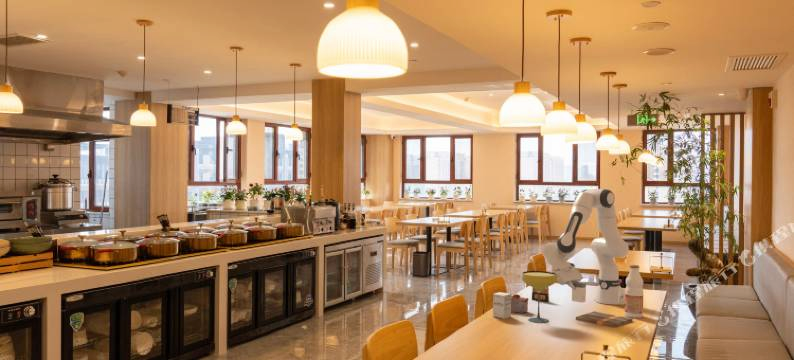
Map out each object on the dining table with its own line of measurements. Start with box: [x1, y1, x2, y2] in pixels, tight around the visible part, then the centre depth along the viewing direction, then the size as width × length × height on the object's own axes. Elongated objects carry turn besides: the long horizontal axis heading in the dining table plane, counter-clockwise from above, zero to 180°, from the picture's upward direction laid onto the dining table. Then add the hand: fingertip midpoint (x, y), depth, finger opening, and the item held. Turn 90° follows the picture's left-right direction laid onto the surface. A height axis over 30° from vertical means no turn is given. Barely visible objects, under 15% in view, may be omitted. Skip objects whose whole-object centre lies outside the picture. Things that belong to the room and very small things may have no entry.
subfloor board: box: [575, 310, 633, 328], centre depth 331 cm, size 20×22×2 cm
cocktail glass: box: [521, 270, 557, 324], centre depth 329 cm, size 18×18×25 cm
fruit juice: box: [624, 264, 644, 319], centre depth 342 cm, size 9×9×28 cm
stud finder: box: [571, 281, 587, 303], centre depth 342 cm, size 4×6×10 cm, turn 43°
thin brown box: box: [531, 287, 550, 303], centre depth 380 cm, size 11×2×12 cm, turn 53°
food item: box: [511, 293, 529, 314], centre depth 350 cm, size 14×8×10 cm, turn 65°
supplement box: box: [492, 291, 512, 320], centre depth 337 cm, size 7×7×13 cm
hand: (577, 288), depth 342 cm, fingers closed on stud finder, 4 cm apart
